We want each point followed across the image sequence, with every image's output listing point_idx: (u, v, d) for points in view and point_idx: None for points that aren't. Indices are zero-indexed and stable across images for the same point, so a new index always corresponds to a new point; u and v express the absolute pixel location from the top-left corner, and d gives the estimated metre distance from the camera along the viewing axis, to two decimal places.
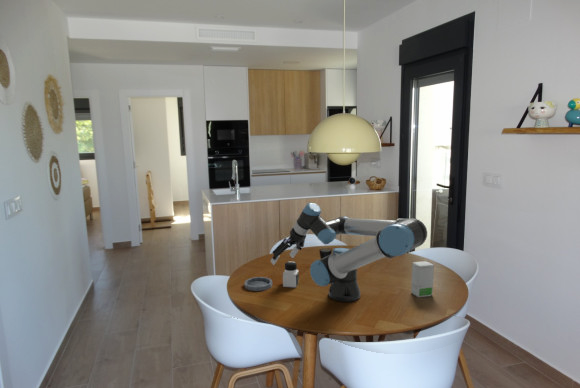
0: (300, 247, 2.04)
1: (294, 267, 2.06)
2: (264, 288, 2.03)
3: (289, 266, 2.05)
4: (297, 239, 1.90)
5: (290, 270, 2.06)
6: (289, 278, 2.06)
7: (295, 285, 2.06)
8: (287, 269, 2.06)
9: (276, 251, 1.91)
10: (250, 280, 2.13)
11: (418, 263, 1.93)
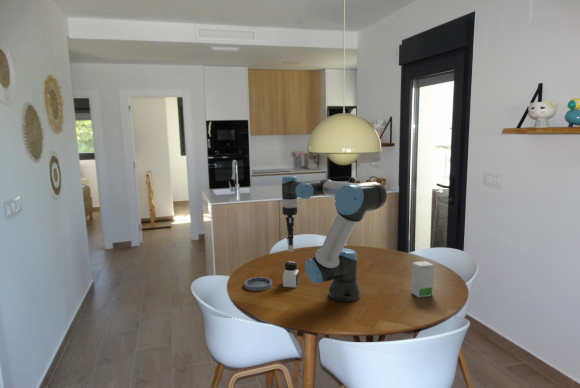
0: None
1: (294, 267, 2.06)
2: (264, 288, 2.03)
3: (289, 266, 2.05)
4: (295, 212, 2.01)
5: (290, 270, 2.06)
6: (289, 278, 2.06)
7: (295, 285, 2.06)
8: (287, 269, 2.06)
9: (290, 234, 1.96)
10: (250, 280, 2.13)
11: (418, 263, 1.93)
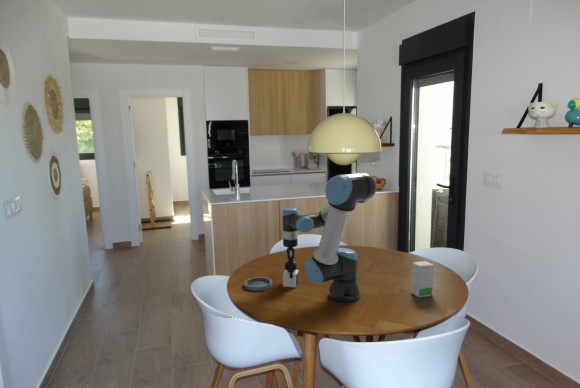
0: None
1: (294, 267, 2.06)
2: (264, 288, 2.03)
3: None
4: (295, 244, 2.04)
5: None
6: None
7: (295, 285, 2.06)
8: (287, 269, 2.06)
9: (291, 268, 2.01)
10: (250, 280, 2.13)
11: (418, 263, 1.93)
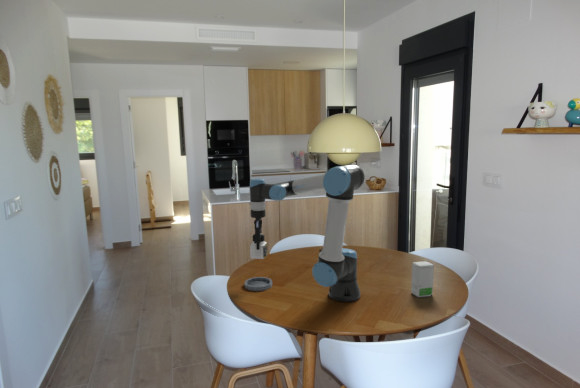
0: None
1: (261, 238, 2.03)
2: (264, 288, 2.03)
3: None
4: (263, 215, 2.01)
5: None
6: None
7: (262, 257, 2.03)
8: (254, 240, 2.03)
9: (257, 238, 1.98)
10: (250, 280, 2.13)
11: (418, 263, 1.93)
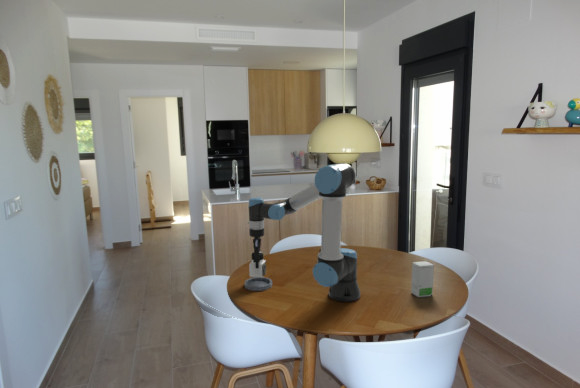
0: None
1: (260, 257, 2.05)
2: (264, 288, 2.03)
3: None
4: (262, 234, 2.03)
5: None
6: None
7: (261, 275, 2.04)
8: (253, 259, 2.05)
9: (256, 257, 2.00)
10: (250, 280, 2.13)
11: (418, 263, 1.93)
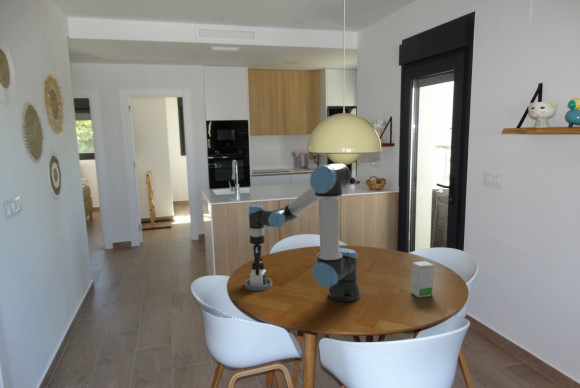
0: (260, 258, 2.14)
1: (261, 267, 2.06)
2: (264, 288, 2.03)
3: (256, 266, 2.05)
4: (262, 241, 2.03)
5: None
6: None
7: (262, 285, 2.05)
8: (254, 269, 2.05)
9: (257, 264, 1.99)
10: None
11: (418, 263, 1.93)
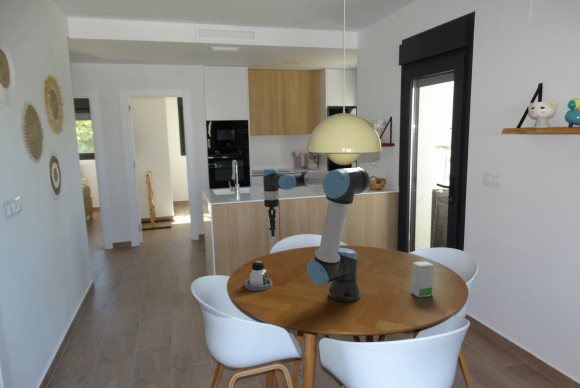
0: None
1: (261, 267, 2.06)
2: (264, 288, 2.03)
3: (256, 266, 2.05)
4: (277, 204, 2.06)
5: (257, 270, 2.05)
6: (256, 278, 2.05)
7: (262, 285, 2.05)
8: (254, 269, 2.05)
9: (273, 225, 2.00)
10: None
11: (418, 263, 1.93)
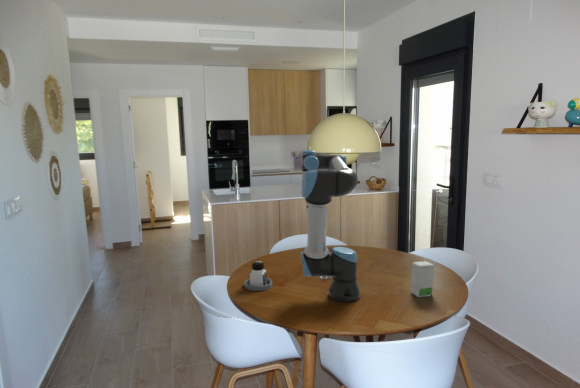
0: None
1: (261, 267, 2.06)
2: (264, 288, 2.03)
3: (256, 266, 2.05)
4: None
5: (257, 270, 2.05)
6: (256, 278, 2.05)
7: (262, 285, 2.05)
8: (254, 269, 2.05)
9: None
10: None
11: (418, 263, 1.93)
